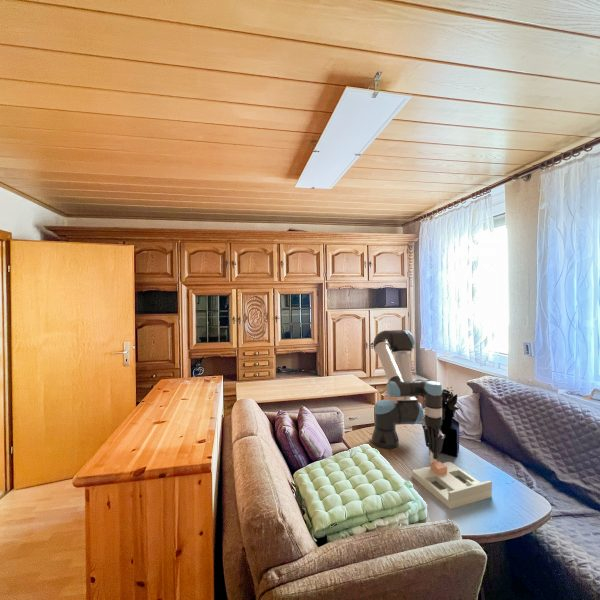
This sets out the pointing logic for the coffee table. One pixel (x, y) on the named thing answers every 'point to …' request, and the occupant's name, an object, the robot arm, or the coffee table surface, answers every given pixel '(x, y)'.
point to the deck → (453, 485)
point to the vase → (449, 424)
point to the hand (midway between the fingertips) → (433, 464)
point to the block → (438, 468)
